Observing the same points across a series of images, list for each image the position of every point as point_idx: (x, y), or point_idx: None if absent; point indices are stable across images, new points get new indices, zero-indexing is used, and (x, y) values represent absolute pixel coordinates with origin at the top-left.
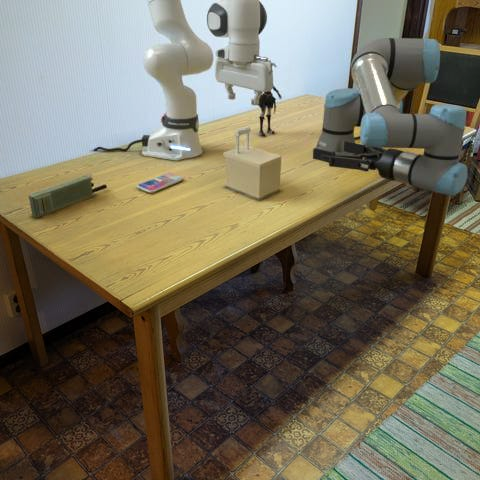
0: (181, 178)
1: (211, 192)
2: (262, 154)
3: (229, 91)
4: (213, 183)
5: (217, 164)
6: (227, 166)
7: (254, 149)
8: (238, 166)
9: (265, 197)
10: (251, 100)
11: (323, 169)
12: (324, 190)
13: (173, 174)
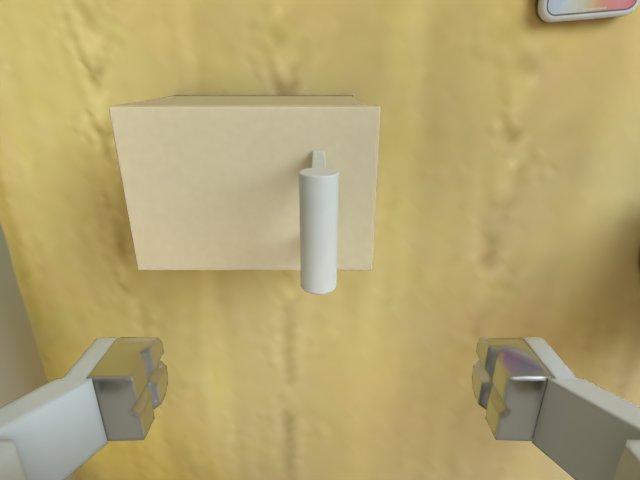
0: (544, 4)
1: (360, 16)
2: (211, 225)
3: (573, 408)
4: (415, 92)
5: (523, 241)
6: (344, 101)
7: (290, 251)
8: (269, 102)
9: None
10: (138, 365)
11: (222, 426)
12: (102, 312)
13: (602, 8)
